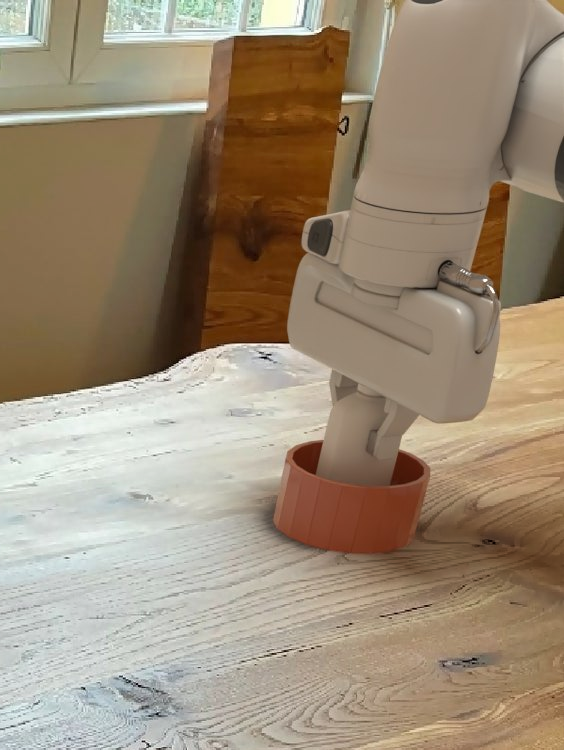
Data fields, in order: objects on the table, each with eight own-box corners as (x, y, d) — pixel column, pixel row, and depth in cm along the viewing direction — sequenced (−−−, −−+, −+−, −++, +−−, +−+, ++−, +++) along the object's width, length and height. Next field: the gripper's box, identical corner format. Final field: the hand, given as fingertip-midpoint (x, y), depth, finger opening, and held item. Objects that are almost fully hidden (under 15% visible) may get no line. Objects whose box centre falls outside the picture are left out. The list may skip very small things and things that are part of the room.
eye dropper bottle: (309, 491, 116) (345, 331, 108) (383, 499, 115) (424, 338, 107) (309, 511, 113) (345, 347, 105) (384, 519, 111) (427, 355, 104)
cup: (357, 513, 121) (376, 433, 117) (436, 563, 113) (460, 480, 109) (244, 527, 118) (260, 446, 114) (317, 579, 110) (336, 494, 106)
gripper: (545, 280, 95) (484, 490, 104) (364, 213, 111) (323, 400, 119) (463, 287, 94) (408, 499, 102) (291, 217, 109) (255, 407, 118)
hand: (361, 445), depth 111 cm, fingers closed on eye dropper bottle, 3 cm apart
